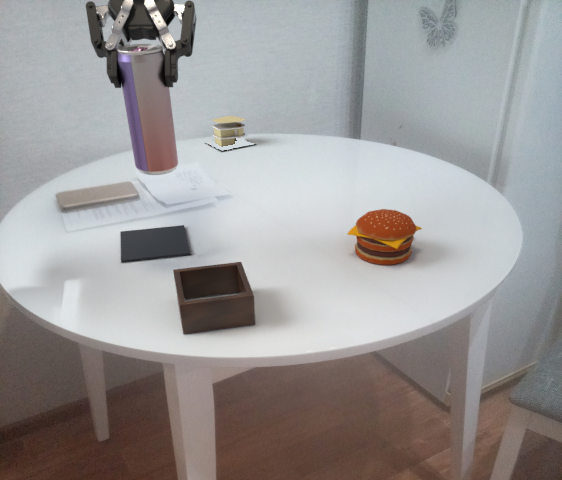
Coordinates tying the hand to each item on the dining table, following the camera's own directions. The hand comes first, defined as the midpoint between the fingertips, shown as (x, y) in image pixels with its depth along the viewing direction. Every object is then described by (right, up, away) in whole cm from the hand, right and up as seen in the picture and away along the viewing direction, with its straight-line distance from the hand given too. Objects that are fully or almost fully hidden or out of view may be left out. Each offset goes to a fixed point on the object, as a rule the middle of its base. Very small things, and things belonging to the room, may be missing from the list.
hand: (143, 83), depth 71 cm
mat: (-4, -15, +23) cm, 28 cm away
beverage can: (0, -8, +9) cm, 12 cm away
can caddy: (+8, -28, +7) cm, 30 cm away
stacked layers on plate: (+5, +19, +65) cm, 68 cm away
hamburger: (+34, -17, +20) cm, 43 cm away
